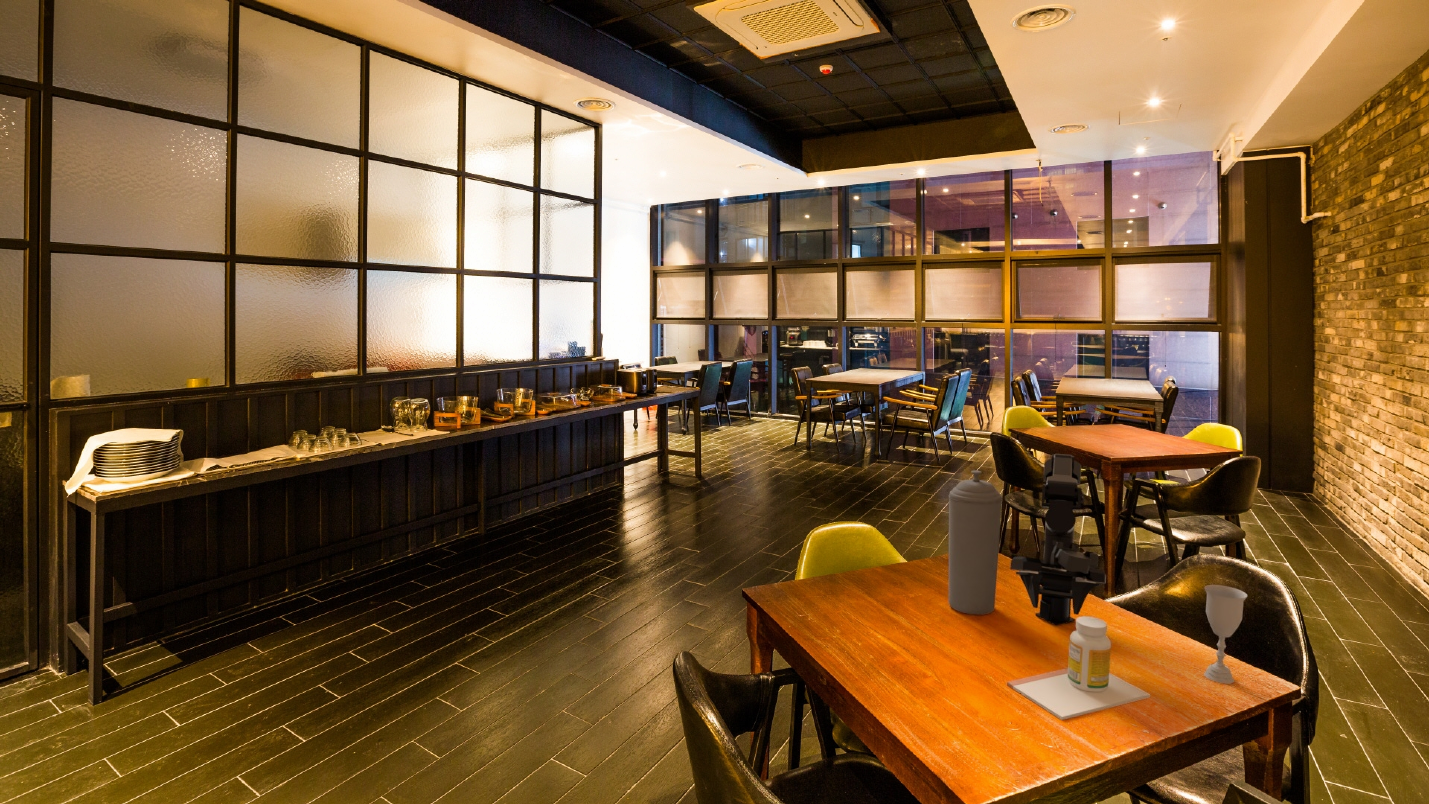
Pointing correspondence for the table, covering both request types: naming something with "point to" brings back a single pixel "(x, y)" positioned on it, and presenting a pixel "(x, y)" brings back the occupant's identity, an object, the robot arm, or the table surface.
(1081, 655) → the supplement bottle
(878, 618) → the table surface
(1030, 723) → the table surface
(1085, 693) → the notepad
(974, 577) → the canister
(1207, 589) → the chalice
